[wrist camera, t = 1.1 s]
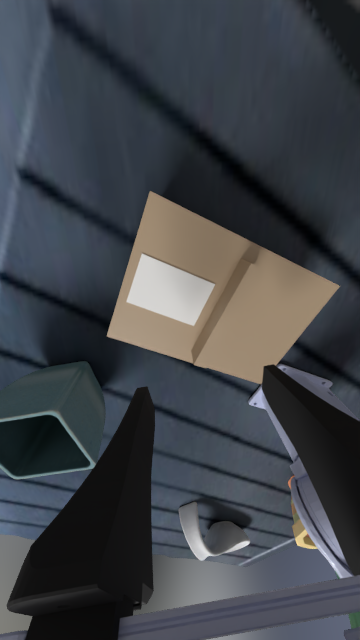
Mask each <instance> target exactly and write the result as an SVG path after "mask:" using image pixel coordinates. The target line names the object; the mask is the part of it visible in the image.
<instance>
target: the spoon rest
mask: <svg viewBox="0 0 360 640" xmlns="http://www.w3.org/2000/svg"><path fill="white" fill-rule="evenodd" d="M179 516H180V522H181V525H182V529H183V532H184V534H185V537H186V539H187V542H188V544H189V546H190V548H191V549H192V551H193V553H194V554H195V555H196V557H197V558H198V559H199V560H202V561H203V560H205V559H206V558H207V557H208V556H218V555H221V554H223V553H227V552H231V551H234V550H237V549H240V548H243V547H245V546H247V545H248V544H249V543H250V540H249V538H248V536H247V535H246V533H245V532H244V531H243V530H242V529H241V528H240V527H238V526H237V525H235V524H234V523H232V522H229V521H222V522H217V523H215V524H213V525H212V526H211V527H210V529H209V531H208V532H207V534H206V536H205V539H204V540H203V538H202V535H201V532H200V527H199V520H198V510H197V503H196V502H192V503H190V504H187V505H184V506H182V507H180V508H179Z"/></svg>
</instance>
